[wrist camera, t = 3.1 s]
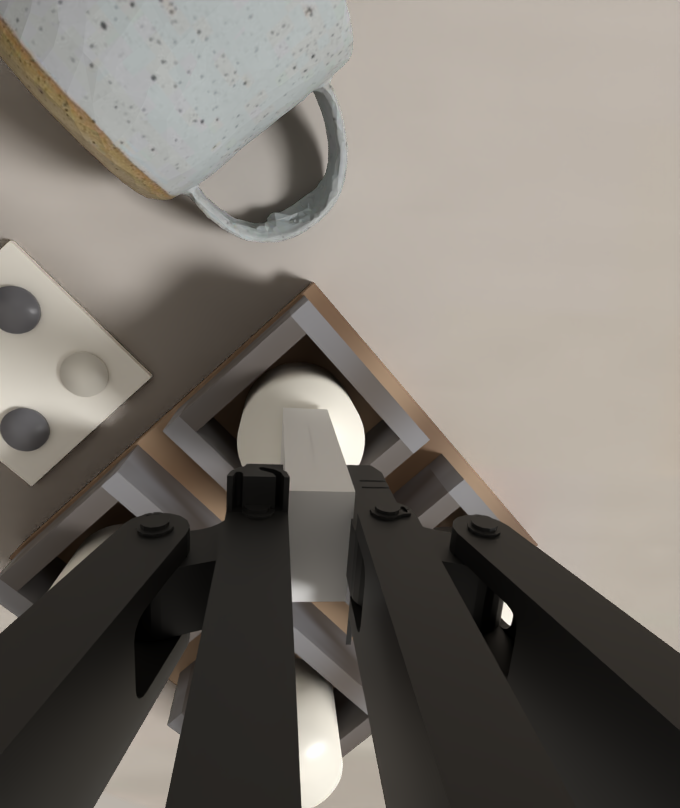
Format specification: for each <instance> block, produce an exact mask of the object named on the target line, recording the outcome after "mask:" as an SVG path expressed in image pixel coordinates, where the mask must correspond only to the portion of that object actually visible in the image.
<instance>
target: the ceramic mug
mask: <svg viewBox="0 0 680 808" xmlns="http://www.w3.org/2000/svg"><path fill="white" fill-rule="evenodd" d="M352 49H353V30H352V25H351V19H350V14H349V11H348V7H347V1H346V0H0V57H1V58H2V59H3V60H4V61H5V63H6V64H7V65H8V66H9V67H10V69H11V70H12V71H13V72H14V73H15V75H16V76H17V77H18V78H19V80H20V81H21V82H22V83H23V84H24V86H25V87H26V88H27V89H28V90H29V91H30V92H31V93H32V95H33V96H34V97H35V98H36V99H37V100H38V101H39V102H40V103H41V104H42V105H43V106H44V107H45V108H46V109H47V110H48V111H49V112H50V113H51V114H52V116H53V117H54V118H55V119H56V120H57V121H58V122H59V123H60V124H61V125H62V126H63V127H64V128H65V129H66V130H67V131H68V132H69V133H70V134H71V135H72V136H73V137H74V138H75V139H76V140H77V141H78V142H79V143H80V144H81V145H82V146H83V147H84V148H85V149H87V150H88V151H89V152H90V153H91V154H92V155H93V156H94V157H95V158H96V159H97V160H98V161H99V162H100V163H102V164H103V165H104V166H105V167H106V168H107V169H108V170H109V171H110V172H112V173H113V174H114V175H115V176H116V177H117V178H119V179H120V180H121V181H122V182H123V183H125V184H126V185H127V186H129V187H130V188H132V189H133V190H134V191H136V192H137V193H139V194H141V195H143V196H145V197H147V198H153V199H159V200H168V199H172V198H174V197H176V196H178V195H180V194H183V195H186V196H189V197H190V198H191V199H192V200H193V201H194V203H195V204H196V205H197V206H198V208H199V209H200V210H201V211H202V212H203V213H204V214H205V215H206V216H207V217H208V218H209V219H210V220H212V221H213V222H215V223H216V224H217V225H218V226H219V227H221V228H222V229H224V230H226V231H227V232H229V233H231V234H233V235H235V236H237V237H239V238H241V239H244V240H247V241H254V242H263V243H265V242H280V241H284V240H287V239H289V238H293V237H295V236H297V235H299V234H301V233H303V232H305V231H306V230H308V229H309V228H310V227H312V226H313V225H315V224H316V223H317V222H319V221H320V220H321V219H322V218H323V217H324V216H325V215H326V214H327V213H328V212H329V211H330V209H331V208H332V207H333V206H334V204H335V203H336V201H337V199H338V197H339V195H340V193H341V191H342V187H343V184H344V180H345V175H346V168H347V153H348V145H347V138H346V132H345V126H344V121H343V117H342V113H341V109H340V106H339V103H338V100H337V98H336V95H335V92H334V90H333V88H332V86H331V79H332V77H333V75H334V74H335V73H336V72H337V71H338V70H339V69H340V68H341V67H343V66H344V65H345V63H346V62H347V61H348V60H349V59H350V57H351V55H352ZM311 92H313V93H314V94H315V97H316V99H317V101H318V104H319V106H320V109H321V112H322V115H323V118H324V122H325V127H326V133H327V139H328V164H327V169H326V173H325V175H324V177H323V179H322V180H321V181H320V182H319V184H318V186H317V188H316V189H314V190H313V191H312V192H310V193H309V194H307V195H306V196H304V197H303V198H302V199H300V200H299V201H298V202H296V203H295V204H294V205H292V206H290V207H289V208H287V209H285V210H283V211H281V212H273V213H271V214H270V215H269V216H268V218H267V221H266V222H264V223H251V222H248V221H244V220H240V219H235V218H234V217H232V216H231V215H229V214H228V213H227V212H226V211H224V210H222V209H220V208H219V207H218V206H216V205H215V204H214V203H213V202H212V201H211V200H210V199H208V198H207V197H206V196H205V195H204V193H203V192H202V191H201V189H200V188H199V184H200V183H201V182H202V181H204V180H205V179H207V178H208V177H209V176H211V175H212V174H213V173H214V172H216V171H217V170H218V169H219V168H220V167H222V166H223V165H224V164H225V163H226V162H227V161H228V160H229V159H231V158H232V157H233V156H234V155H235V154H236V153H237V152H238V151H239V150H240V149H241V148H242V147H243V146H245V145H246V144H247V143H248V142H250V141H251V140H252V139H254V138H255V137H256V136H258V135H259V134H260V133H261V132H263V131H264V130H265V129H267V128H268V127H270V126H271V125H272V124H273V123H274V122H275V121H276V120H278V119H279V118H280V117H282V116H283V115H284V114H285V113H287V112H288V111H290V110H291V109H292V108H293V107H294V106H295V105H297V104H298V103H300V102H301V101H303V100H304V99H305V98H306V97H307V96H308V95H309V94H310V93H311Z"/></svg>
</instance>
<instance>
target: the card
mask: <svg viewBox="0 0 680 808" xmlns="http://www.w3.org/2000/svg"><path fill="white" fill-rule="evenodd" d="M152 376H153V375H152V374H151V373H150V372H149V371H148V370H147V369H146V368H145V367H144V366H142V365H141V364H140V363H139V362H138V361H137V360H136V359H135V358H134V357H133V356H132V355H131V354H130V353H129V352H128V351H127V350H126V349H125V348H124V347H123V346H122V345H121V344H120V343H119V342H118V341H117V340H116V339H115V338H114V337H113V336H112V335H111V334H109V333H108V332H107V331H106V330H105V329H104V328H103V327H102V326H101V325H100V324H99V323H98V322H97V321H96V320H95V319H94V318H93V317H92V316H91V315H90V314H89V313H88V312H87V311H86V310H85V309H84V308H83V307H82V306H81V305H80V304H79V303H77V302H76V301H75V300H74V299H73V298H72V297H71V296H70V295H69V294H68V293H67V292H66V291H65V290H64V289H63V288H62V287H61V286H60V285H59V284H58V283H57V282H56V281H55V280H54V279H53V278H52V277H51V276H50V275H49V274H48V273H47V272H46V271H44V270H43V269H42V268H41V267H40V266H39V265H38V264H37V263H36V262H35V261H34V260H33V259H32V258H31V257H30V256H29V255H28V254H27V253H26V252H25V251H24V250H23V249H22V248H21V247H20V246H19V245H18V244H17V243H16V242H15V241H9V242H8V243H7V244H6V245H5V246H4V247H3V248H2V249H1V250H0V461H1V462H2V463H3V464H5V465H6V466H7V467H8V468H9V469H11V470H12V471H13V472H14V473H16V474H17V475H18V476H19V477H20V478H22V479H23V480H24V481H25V482H27V483H28V484H29V485H30V486H31V487H32V486H33V485H34V484H35V483H36V482H37V481H38V480H39V479H40V478H41V477H43V476H44V475H45V474H46V473H47V472H48V471H49V470H50V469H51V468H52V467H53V466H55V465H56V464H57V463H58V462H59V461H60V460H61V459H62V458H63V457H64V456H66V455H67V454H68V453H69V452H70V451H71V450H72V449H73V448H74V447H75V446H76V445H78V444H79V443H80V442H81V441H82V440H83V439H84V438H85V437H86V436H87V435H89V434H90V433H91V432H92V431H93V430H94V429H95V428H96V427H97V426H98V425H99V424H101V423H102V422H103V421H104V420H105V419H106V418H107V417H108V416H109V415H110V414H112V413H113V412H114V411H115V410H116V409H117V408H118V407H119V406H120V405H121V404H122V403H124V402H125V401H126V400H127V399H128V398H129V397H130V396H131V395H132V394H133V393H135V392H136V391H137V390H138V389H139V388H140V387H141V386H142V385H143V384H144V383H145V382H147V381H148V380H149V379H150V378H151V377H152Z"/></svg>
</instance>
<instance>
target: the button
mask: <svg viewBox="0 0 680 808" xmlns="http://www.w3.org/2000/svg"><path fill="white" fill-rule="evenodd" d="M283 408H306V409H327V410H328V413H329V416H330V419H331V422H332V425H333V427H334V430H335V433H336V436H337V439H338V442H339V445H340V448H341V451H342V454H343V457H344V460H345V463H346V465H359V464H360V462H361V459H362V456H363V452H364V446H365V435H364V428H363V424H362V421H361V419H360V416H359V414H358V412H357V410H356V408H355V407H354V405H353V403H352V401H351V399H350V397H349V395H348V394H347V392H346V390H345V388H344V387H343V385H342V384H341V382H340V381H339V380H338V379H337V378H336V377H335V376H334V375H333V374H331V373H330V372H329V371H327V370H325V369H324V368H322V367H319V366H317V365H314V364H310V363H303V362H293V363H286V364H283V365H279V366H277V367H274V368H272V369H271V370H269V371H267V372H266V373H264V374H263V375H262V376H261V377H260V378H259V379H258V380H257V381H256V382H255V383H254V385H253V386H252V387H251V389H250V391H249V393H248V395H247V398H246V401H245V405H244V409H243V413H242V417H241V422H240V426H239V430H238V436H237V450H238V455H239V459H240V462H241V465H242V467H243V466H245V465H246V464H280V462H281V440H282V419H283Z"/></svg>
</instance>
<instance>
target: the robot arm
mask: <svg viewBox="0 0 680 808" xmlns="http://www.w3.org/2000/svg"><path fill="white" fill-rule="evenodd" d="M347 582H348V586H349V591H350V602H349V613H348V624H347V636H346V645H351V639H352V637H353V641H354V646H355V652H356V657H357V662H358V667H359V672H360V677H361V682H362V687H363V692H364V697H365V702H366V708H367V713H368V718H369V723H370V728H371V733H372V738H373V743H374V748H375V753H376V758H377V764H378V769H379V774H380V779H381V784H382V789H383V794H384V799H385V804H386V808H680V653H679V652H677V651H676V650H675V649H673V648H672V647H671V646H669V645H668V644H666V643H665V642H664V641H662V640H661V639H660V638H658V637H657V636H656V635H654V634H653V633H652V632H650V631H649V630H648V629H646V628H645V627H644V626H642V625H641V624H640V623H638V622H637V621H636V620H634V619H633V618H632V617H630V616H629V615H628V614H626V613H625V612H623V611H622V610H621V609H619V608H618V607H617V606H615V605H614V604H613V603H611V602H610V601H609V600H607V599H606V598H605V597H603V596H602V595H601V594H599V593H598V592H597V591H595V590H594V589H593V588H591V587H590V586H589V585H587V584H586V583H585V582H583V581H582V580H580V579H579V578H578V577H576V576H575V575H574V574H572V573H571V572H570V571H568V570H567V569H566V568H564V567H563V566H562V565H560V564H559V563H558V562H556V561H555V560H554V559H552V558H551V557H550V556H548V555H547V554H546V553H544V552H543V551H542V550H540V549H539V548H537V547H536V546H535V545H533V544H532V543H531V542H529V541H528V540H527V539H525V538H524V537H523V536H521V535H520V534H519V533H517V532H516V531H515V530H513V529H512V528H511V527H509V526H508V525H506V524H504V523H502V522H501V521H499V520H496V519H493V518H491V517H489V516H485V515H483V516H482V515H479V514H475V515H464V516H460V517H457V518H456V519H455V520H454V521H453V524H452V531H451V532H445V531H439V530H434V529H430V528H425V527H423V526H422V525H421V523H420V521H419V519H418V517H417V515H416V514H415V513H414V511H413V510H412V509H411V508H409V507H407V506H405V505H403V504H400V503H397V502H396V500H395V498H394V496H393V494H392V492H391V490H390V489H389V486H388V484H387V482H386V480H385V478H384V476H383V474H382V472H380V471H379V470H377V469H376V468H374V467H373V466H371V465H346V463H345V460H344V457H343V454H342V451H341V448H340V445H339V442H338V439H337V436H336V433H335V430H334V427H333V425H332V422H331V419H330V416H329V413H328V410H327V409H306V408H283V419H282V440H281V462H280V464H246V465H245V466H243V467H238V468H236V469H234V470H232V471H230V472H229V474H228V475H227V497H226V515H225V520H224V521H222V522H221V523H219V524H217V525H214V526H212V527H208V528H204V529H199V530H193V531H190V525H189V523H188V520H186V519H185V518H183V517H182V516H179V515H175V514H171V513H162V512H153V513H147V514H144V515H142V516H138V517H135V518H132V519H131V520H129V521H128V522H126V523H124V524H123V525H122V526H121V527H119V528H118V529H117V530H116V531H115V532H114V533H113V534H112V535H111V536H109V537H108V538H107V539H106V540H105V541H104V542H103V543H102V544H100V545H99V546H98V547H97V548H96V549H95V550H94V551H93V552H91V553H90V554H89V555H88V556H87V557H86V558H85V559H84V560H82V561H81V562H80V563H79V564H78V565H77V566H76V567H75V568H73V569H72V570H71V571H70V572H69V573H68V574H67V575H66V576H64V577H63V578H62V579H61V580H60V581H59V582H58V583H57V584H55V585H54V586H53V587H52V588H51V589H50V590H49V591H48V592H46V593H45V594H44V595H43V596H42V597H41V598H40V599H39V600H37V601H36V602H35V603H34V604H33V605H32V606H31V607H30V608H28V609H27V610H26V611H25V612H24V613H23V614H22V615H21V616H19V617H18V618H17V619H16V620H15V621H14V622H13V623H12V624H10V625H9V626H8V627H7V628H6V629H5V630H4V631H3V632H1V633H0V808H93V807H94V806H95V804H96V802H97V801H98V799H99V797H100V796H101V794H102V792H103V790H104V789H105V787H106V785H107V784H108V782H109V780H110V778H111V777H112V775H113V773H114V772H115V770H116V768H117V766H118V765H119V763H120V761H121V760H122V758H123V756H124V754H125V753H126V751H127V749H128V747H129V746H130V744H131V742H132V741H133V739H134V737H135V735H136V734H137V732H138V730H139V729H140V727H141V725H142V723H143V722H144V720H145V718H146V717H147V715H148V713H149V711H150V710H151V708H152V706H153V704H154V703H155V701H156V699H157V698H158V696H159V694H160V692H161V691H162V689H163V687H164V686H165V684H166V682H167V680H168V679H169V677H170V675H171V674H172V672H173V670H174V668H175V667H176V665H177V663H178V661H179V660H180V658H181V656H182V655H183V653H184V651H185V649H186V648H187V646H188V643H189V639H190V633H191V632H195V631H199V630H202V632H201V637H200V642H199V646H198V651H197V656H196V661H195V666H194V671H193V676H192V681H191V685H190V690H189V695H188V700H187V705H186V710H185V715H184V719H183V724H182V729H181V734H180V739H179V744H178V749H177V753H176V758H175V763H174V768H173V773H172V778H171V783H170V788H169V792H168V797H167V802H166V807H165V808H302V806H301V784H300V762H299V740H298V718H297V696H296V674H295V653H294V631H293V609H292V602H336V601H346V593H347ZM504 602H505V603H506V604H507V605H508V607H509V608H510V609H511V611H512V613H513V618H512V623H511V625H508V624H507V623H506V622H505V621H504V620H503V619H502V618H501V615H502V609H503V604H504Z"/></svg>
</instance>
